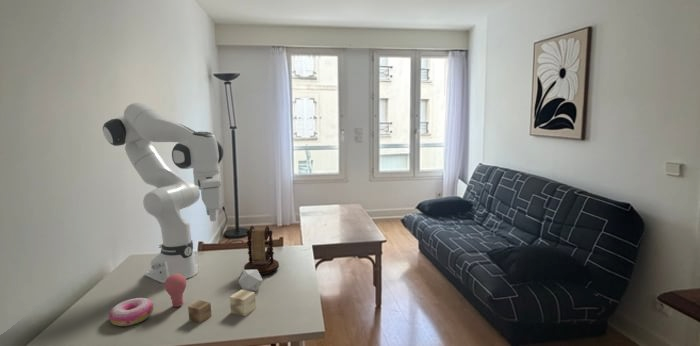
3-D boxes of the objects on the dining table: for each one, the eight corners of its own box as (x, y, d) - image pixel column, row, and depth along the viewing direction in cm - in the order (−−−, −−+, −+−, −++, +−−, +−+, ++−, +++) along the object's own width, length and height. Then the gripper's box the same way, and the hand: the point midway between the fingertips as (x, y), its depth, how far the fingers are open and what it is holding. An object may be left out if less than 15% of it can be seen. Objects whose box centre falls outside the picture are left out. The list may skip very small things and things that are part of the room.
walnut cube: (189, 320, 135) (188, 306, 134) (200, 313, 139) (199, 300, 139) (200, 323, 133) (199, 309, 132) (211, 316, 137) (210, 302, 137)
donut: (144, 304, 147) (142, 291, 146) (161, 316, 139) (160, 302, 138) (103, 320, 137) (101, 306, 136) (119, 333, 128) (117, 318, 127)
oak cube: (231, 312, 139) (229, 296, 138) (242, 305, 145) (241, 289, 144) (244, 316, 137) (243, 299, 136) (256, 308, 142) (254, 292, 141)
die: (250, 298, 151) (264, 275, 152) (231, 286, 152) (245, 264, 153) (255, 296, 159) (268, 274, 160) (237, 285, 160) (250, 263, 161)
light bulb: (175, 313, 140) (171, 280, 138) (162, 308, 144) (159, 276, 142) (192, 304, 146) (189, 273, 144) (180, 299, 150) (177, 269, 148)
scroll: (239, 277, 169) (235, 231, 166) (251, 263, 183) (248, 220, 180) (273, 278, 167) (270, 231, 164) (283, 264, 182) (280, 221, 178)
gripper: (195, 176, 147) (199, 212, 150) (200, 184, 129) (204, 225, 131) (213, 174, 150) (216, 210, 152) (221, 181, 132) (224, 222, 134)
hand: (211, 217), depth 142 cm, fingers open, 8 cm apart
